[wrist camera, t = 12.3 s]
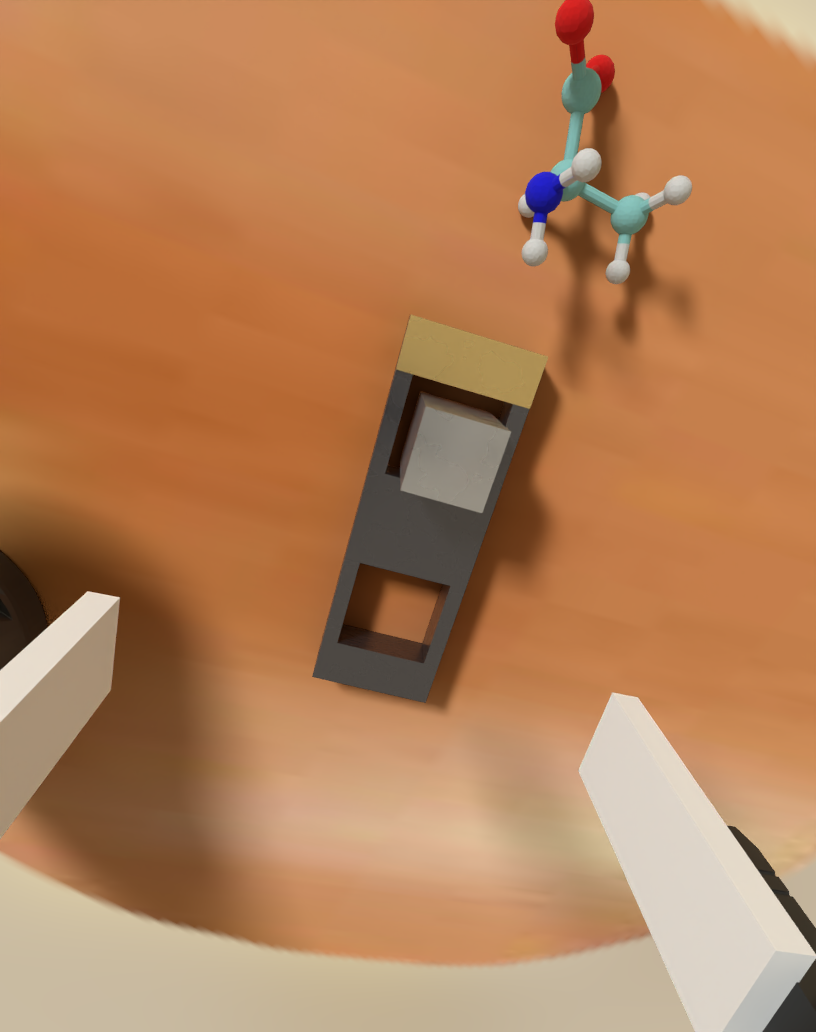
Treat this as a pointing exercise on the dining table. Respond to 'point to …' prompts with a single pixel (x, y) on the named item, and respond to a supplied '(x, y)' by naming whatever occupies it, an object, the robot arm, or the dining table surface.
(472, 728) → the dining table surface
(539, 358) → the grey slotted frame
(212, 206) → the dining table surface
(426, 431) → the light grey rectangular block
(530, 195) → the molecular model
